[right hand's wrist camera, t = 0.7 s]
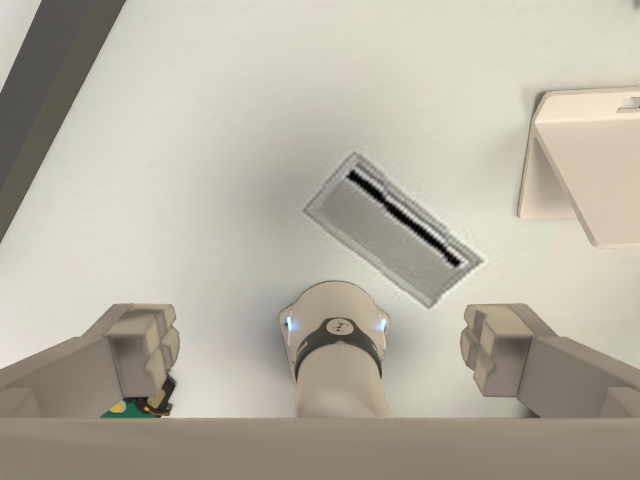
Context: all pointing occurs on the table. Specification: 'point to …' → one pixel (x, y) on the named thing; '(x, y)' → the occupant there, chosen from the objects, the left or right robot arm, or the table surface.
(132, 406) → the spray gun
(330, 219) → the table surface
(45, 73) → the bar
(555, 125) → the tablet stand
